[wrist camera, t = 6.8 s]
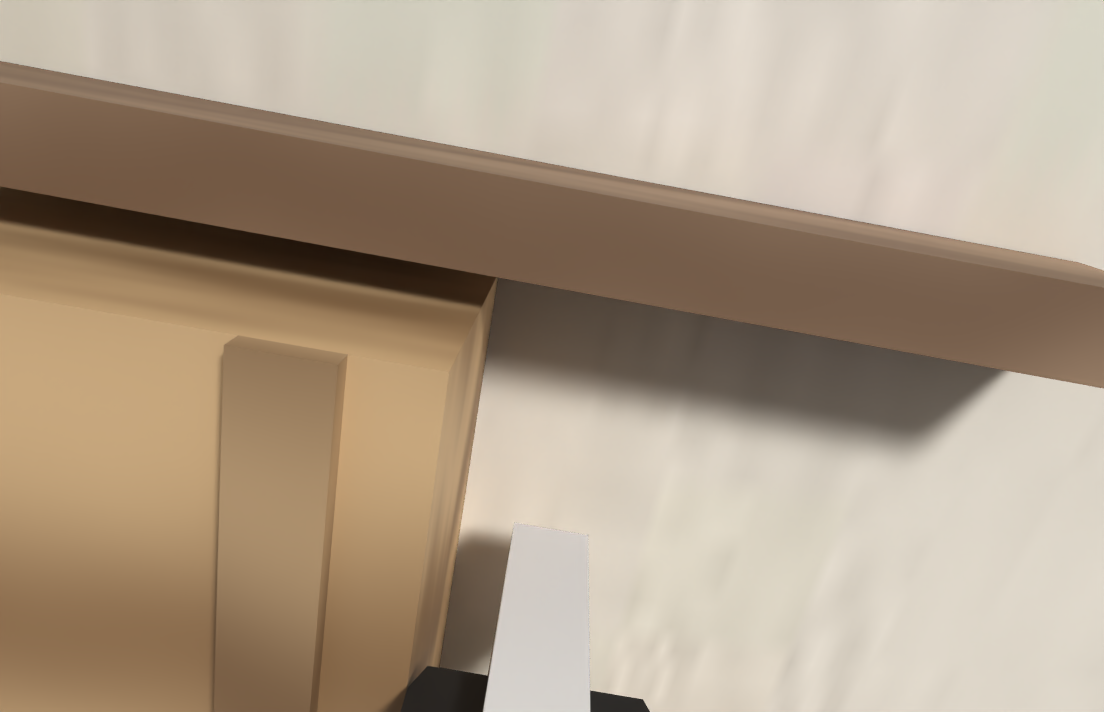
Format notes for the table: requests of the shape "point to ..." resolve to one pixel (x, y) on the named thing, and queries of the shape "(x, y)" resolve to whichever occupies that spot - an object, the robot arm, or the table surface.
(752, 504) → the table surface
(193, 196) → the bay
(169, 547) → the crate
